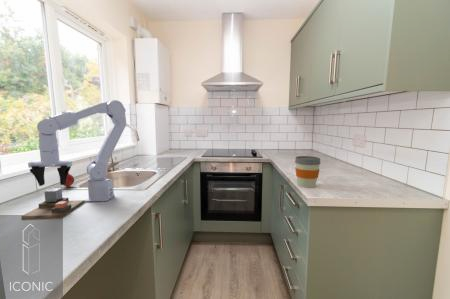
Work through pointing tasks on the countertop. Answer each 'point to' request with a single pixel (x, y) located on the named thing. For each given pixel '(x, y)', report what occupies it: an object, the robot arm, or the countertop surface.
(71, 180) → the onion
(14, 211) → the countertop surface
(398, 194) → the countertop surface
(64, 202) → the button
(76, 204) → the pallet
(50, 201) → the block
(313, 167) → the reusable coffee cup
